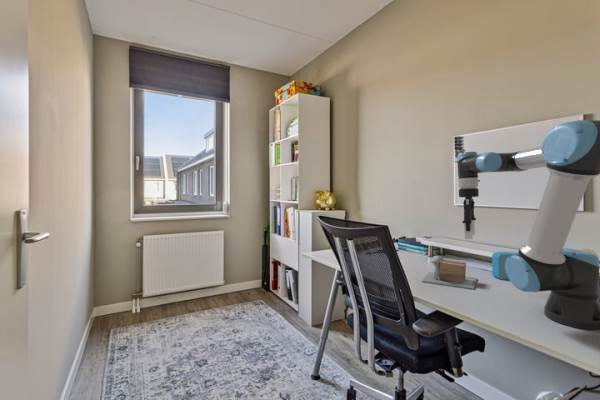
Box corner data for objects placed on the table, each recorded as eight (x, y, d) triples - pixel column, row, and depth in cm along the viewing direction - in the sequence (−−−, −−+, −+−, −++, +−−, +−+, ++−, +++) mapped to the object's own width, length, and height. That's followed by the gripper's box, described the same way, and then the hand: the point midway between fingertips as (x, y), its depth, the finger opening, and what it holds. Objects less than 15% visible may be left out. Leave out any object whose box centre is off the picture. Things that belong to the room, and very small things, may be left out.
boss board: (473, 289, 129) (473, 266, 128) (422, 282, 141) (421, 261, 140) (476, 279, 142) (476, 258, 142) (429, 273, 154) (429, 253, 154)
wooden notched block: (463, 283, 135) (464, 266, 135) (439, 279, 141) (440, 262, 140) (465, 279, 141) (466, 262, 140) (442, 275, 147) (442, 259, 146)
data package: (516, 275, 145) (516, 251, 144) (523, 278, 140) (523, 253, 140) (492, 276, 145) (491, 252, 144) (498, 279, 140) (498, 254, 140)
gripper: (476, 187, 118) (478, 241, 118) (480, 187, 139) (481, 233, 139) (455, 188, 122) (456, 240, 122) (461, 188, 143) (463, 232, 143)
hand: (470, 236), depth 131 cm, fingers open, 13 cm apart
